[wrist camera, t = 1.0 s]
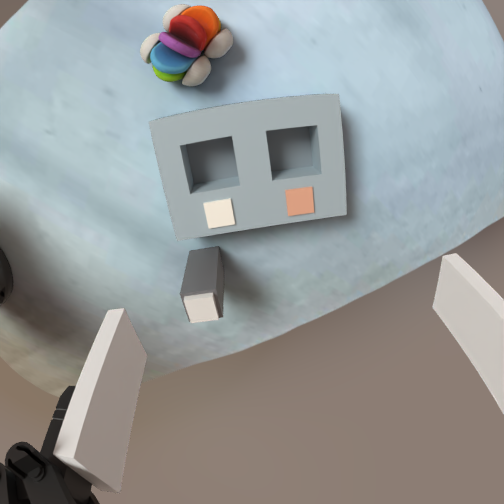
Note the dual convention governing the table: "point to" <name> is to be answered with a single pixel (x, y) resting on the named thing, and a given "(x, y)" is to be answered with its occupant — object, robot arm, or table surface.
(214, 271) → the plug
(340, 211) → the socket box
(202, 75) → the rainbow petal fan toy
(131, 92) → the table surface
